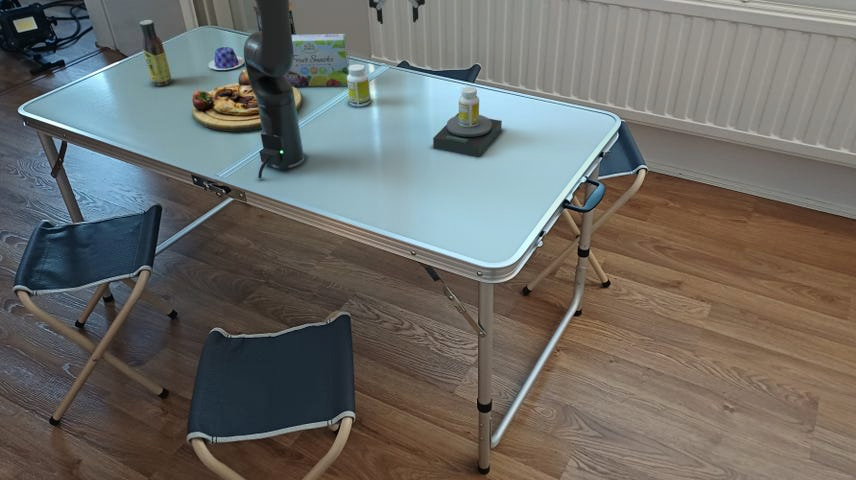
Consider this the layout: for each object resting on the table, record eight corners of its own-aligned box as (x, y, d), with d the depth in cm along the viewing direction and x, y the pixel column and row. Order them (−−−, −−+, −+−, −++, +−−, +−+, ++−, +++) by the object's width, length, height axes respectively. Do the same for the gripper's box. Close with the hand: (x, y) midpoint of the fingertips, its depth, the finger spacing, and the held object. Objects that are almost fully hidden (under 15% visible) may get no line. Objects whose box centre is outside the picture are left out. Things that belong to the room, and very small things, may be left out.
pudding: (219, 75, 237) (216, 59, 233) (202, 65, 244) (198, 49, 241) (251, 64, 243) (248, 49, 239) (234, 55, 250) (231, 40, 247)
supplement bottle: (460, 128, 191) (459, 94, 186) (457, 119, 196) (457, 86, 190) (480, 127, 192) (480, 93, 186) (477, 118, 196) (477, 84, 190)
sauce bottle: (151, 81, 234) (133, 19, 222) (170, 77, 236) (154, 16, 224) (154, 88, 229) (136, 26, 217) (174, 84, 231) (157, 22, 219)
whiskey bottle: (276, 71, 237) (258, -31, 217) (261, 63, 243) (243, -37, 224) (303, 63, 242) (288, -38, 222) (288, 55, 248) (272, -44, 229)
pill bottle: (372, 98, 218) (368, 63, 211) (368, 107, 213) (365, 71, 207) (351, 98, 219) (347, 62, 212) (347, 107, 214) (343, 71, 207)
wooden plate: (181, 136, 203) (174, 108, 198) (206, 89, 228) (200, 63, 223) (296, 130, 203) (291, 103, 198) (307, 84, 228) (304, 58, 223)
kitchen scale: (478, 157, 188) (478, 142, 185) (433, 147, 192) (432, 133, 190) (501, 130, 199) (501, 116, 196) (458, 122, 204) (458, 108, 201)
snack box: (281, 88, 226) (273, 40, 217) (284, 81, 231) (276, 34, 222) (349, 86, 226) (344, 38, 217) (351, 79, 230) (346, 32, 221)
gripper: (365, -38, 175) (370, 28, 185) (423, -42, 176) (426, 25, 185) (365, -47, 181) (370, 19, 191) (422, -50, 181) (424, 15, 191)
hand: (398, 22), depth 188 cm, fingers open, 8 cm apart
